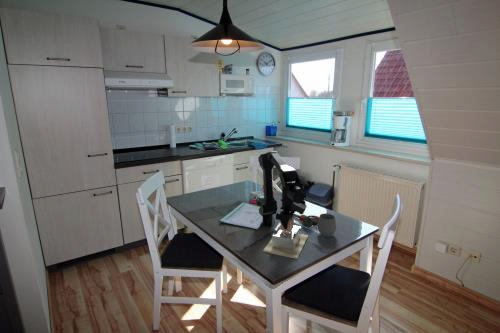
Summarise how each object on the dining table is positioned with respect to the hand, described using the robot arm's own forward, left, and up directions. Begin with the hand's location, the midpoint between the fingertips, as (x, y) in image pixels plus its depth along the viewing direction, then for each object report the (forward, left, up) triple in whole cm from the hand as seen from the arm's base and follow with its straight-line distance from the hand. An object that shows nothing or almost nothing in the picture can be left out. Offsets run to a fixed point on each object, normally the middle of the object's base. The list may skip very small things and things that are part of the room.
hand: (287, 226), depth 140 cm
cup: (-17, +16, -9) cm, 25 cm away
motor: (-2, 0, -8) cm, 8 cm away
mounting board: (0, 0, -9) cm, 9 cm away
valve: (-30, +2, -10) cm, 32 cm away
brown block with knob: (0, 0, -1) cm, 1 cm away
